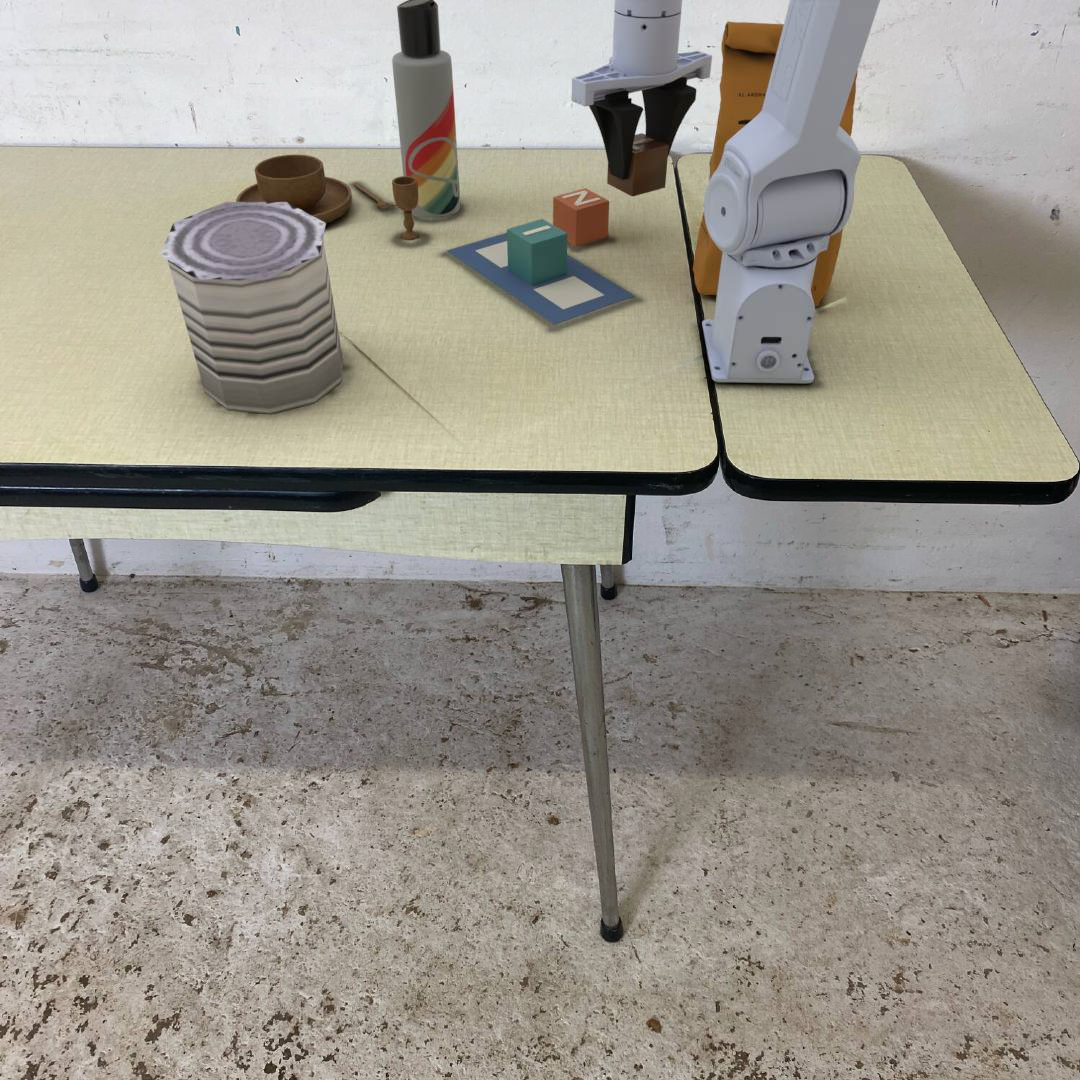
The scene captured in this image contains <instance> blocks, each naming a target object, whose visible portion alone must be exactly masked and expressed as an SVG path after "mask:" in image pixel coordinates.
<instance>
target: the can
mask: <svg viewBox="0 0 1080 1080" xmlns="http://www.w3.org/2000/svg"><path fill="white" fill-rule="evenodd" d="M326 226H327V224H326V223H325V222H323V221H321V220H319V219H317V218H315V217H314V216H312V215H310V214H308V213H306V212H304V211H302V210H301V209H299V208H297V207H295V206H293V205H291V204H289V203H288V202H236V201H225V202H222V203H219V204H216V205H214V206H212V207H209V208H207V209H204V210H201V211H200V212H196V213H194V214H191V215H189V216H187V217H184V218H182V219H179V220H176V221H174V222H172V226H171V228H170V230H169V232H168V235H167V237H166V240H165V242H164V245H163V247H162V249H161V251H160V253H159V255H160V256H161V257H163V258H164V259H166V260H167V263H168V264H167V265H168V267H169V270H170V275H171V278H172V281H173V285H174V289H175V292H176V295H177V299H178V302H179V307H180V309H181V314H182V316H183V320H184V324H185V327H186V330H187V334H188V338H189V341H190V345H191V348H192V352H193V355H194V359H195V362H196V366H197V370H198V373H199V377H200V380H201V384H202V388H203V391H204V393H205V394H206V395H208V396H209V397H210V398H211V399H212V400H214V401H216V402H217V403H218V404H219V405H221V406H222V407H224V408H225V409H226V410H227V411H237V412H247V413H257V414H266V415H272V414H276V413H280V412H284V411H288V410H292V409H295V408H299V407H304V406H307V405H311V404H315V403H317V402H318V401H320V400H321V399H322V398H323V397H324V396H325V395H327V394H328V393H329V392H331V391H332V390H333V389H334V388H336V387H337V386H338V385H340V383H342V382H343V373H344V372H343V371H344V369H343V366H344V358H343V352H342V345H341V339H340V332H339V328H338V327H339V326H338V321H337V314H336V309H335V303H334V297H333V289H332V283H331V278H330V277H331V276H330V272H329V266H328V265H329V264H328V259H327V254H326V247H325V242H324V241H325V240H324V235H325V231H326Z"/></svg>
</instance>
